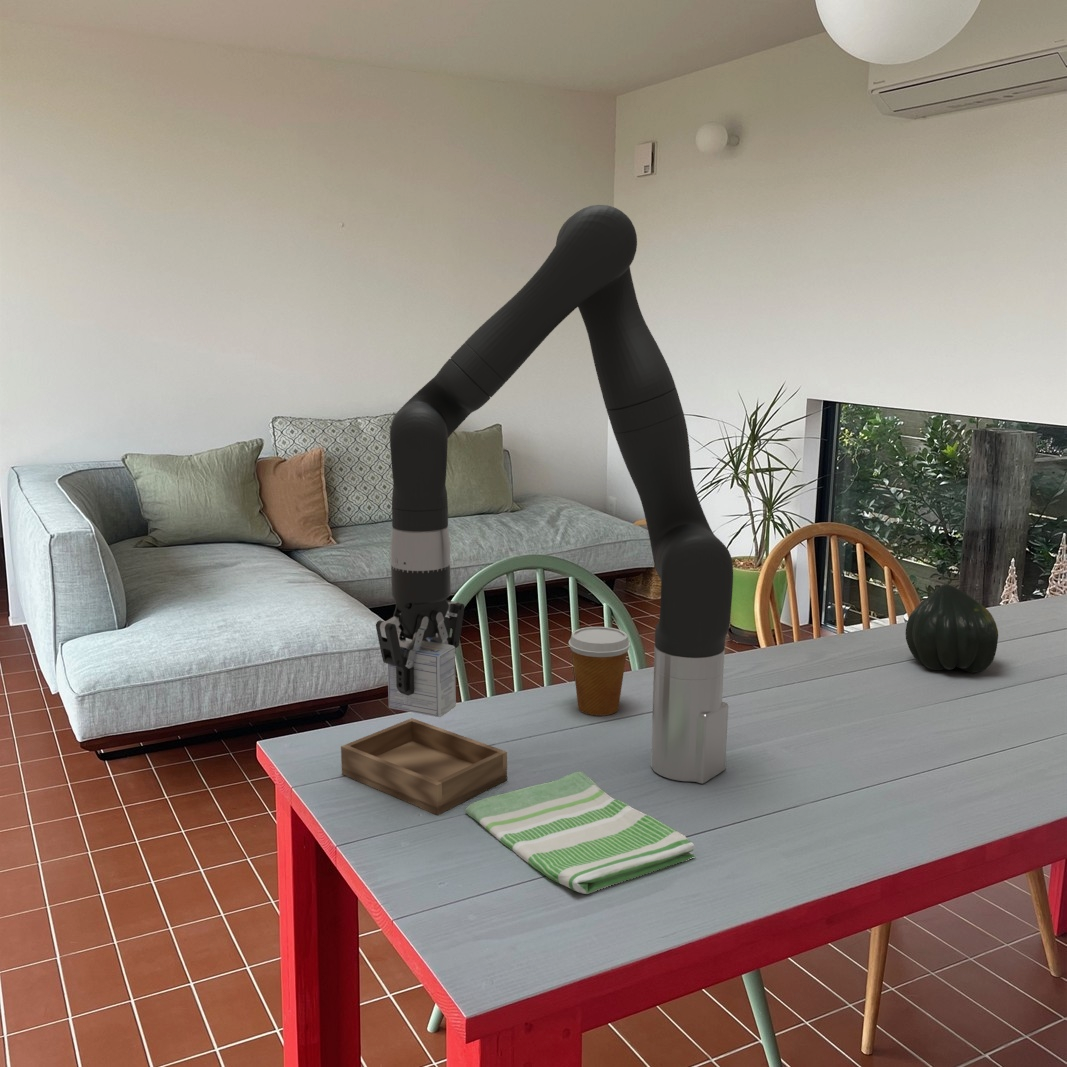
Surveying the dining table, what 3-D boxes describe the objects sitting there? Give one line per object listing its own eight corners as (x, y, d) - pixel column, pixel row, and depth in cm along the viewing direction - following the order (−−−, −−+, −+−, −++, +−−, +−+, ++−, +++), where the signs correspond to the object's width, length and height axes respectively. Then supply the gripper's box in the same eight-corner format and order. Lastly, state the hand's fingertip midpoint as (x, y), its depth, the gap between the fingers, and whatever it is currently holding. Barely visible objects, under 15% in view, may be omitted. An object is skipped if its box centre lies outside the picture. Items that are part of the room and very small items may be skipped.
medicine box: (456, 707, 139) (456, 644, 137) (439, 719, 135) (439, 654, 133) (405, 698, 142) (404, 636, 140) (387, 709, 138) (386, 645, 136)
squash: (994, 659, 172) (1001, 578, 179) (898, 649, 178) (908, 572, 185) (994, 693, 183) (1000, 616, 190) (904, 683, 190) (913, 609, 196)
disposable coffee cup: (624, 722, 159) (626, 646, 157) (562, 717, 161) (563, 642, 159) (631, 699, 168) (633, 627, 166) (573, 695, 170) (574, 624, 168)
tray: (507, 780, 140) (507, 751, 139) (437, 815, 130) (437, 785, 129) (412, 744, 151) (411, 718, 150) (341, 774, 141) (340, 746, 140)
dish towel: (583, 784, 140) (583, 764, 139) (700, 861, 120) (701, 839, 120) (464, 817, 130) (464, 797, 130) (571, 906, 111) (571, 883, 110)
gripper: (399, 576, 126) (402, 710, 130) (480, 556, 137) (481, 679, 141) (358, 566, 131) (361, 695, 135) (439, 547, 142) (440, 667, 145)
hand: (422, 687), depth 138 cm, fingers closed on medicine box, 5 cm apart
